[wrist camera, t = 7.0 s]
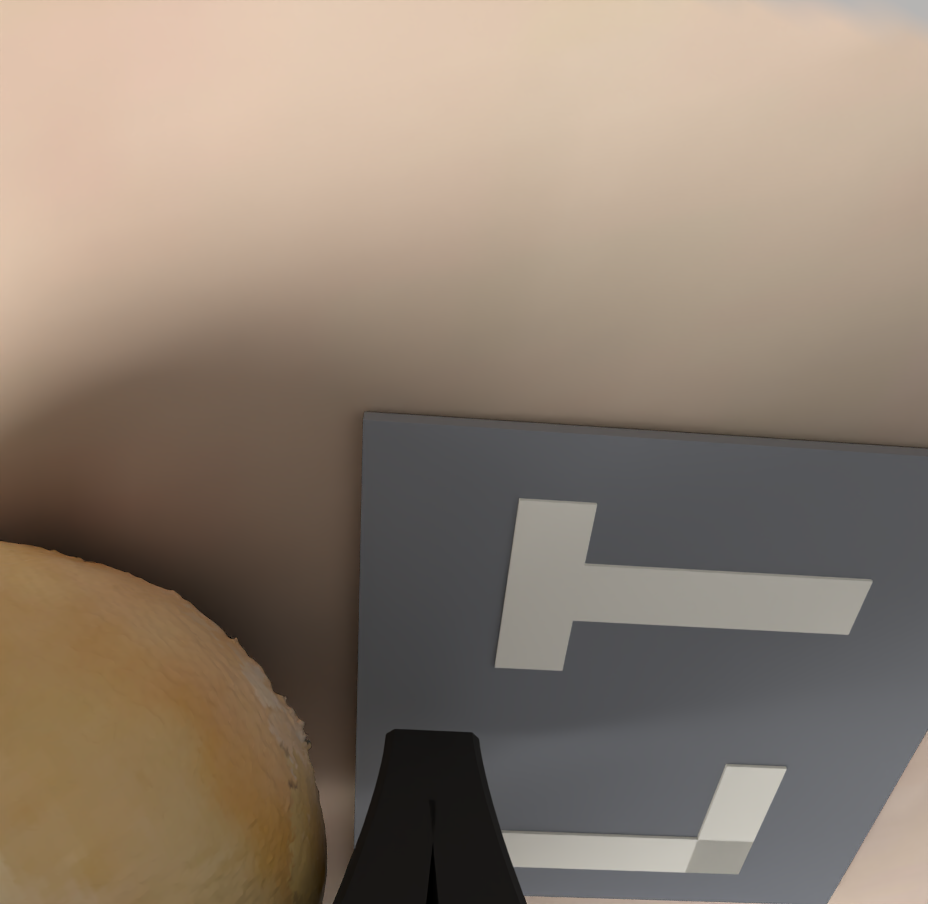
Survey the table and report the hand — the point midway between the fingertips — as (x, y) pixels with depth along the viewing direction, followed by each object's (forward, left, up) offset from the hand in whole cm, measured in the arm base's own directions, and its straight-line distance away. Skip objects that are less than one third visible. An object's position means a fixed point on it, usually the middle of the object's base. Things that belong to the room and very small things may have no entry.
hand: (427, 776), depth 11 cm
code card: (-3, 0, -1) cm, 4 cm away
